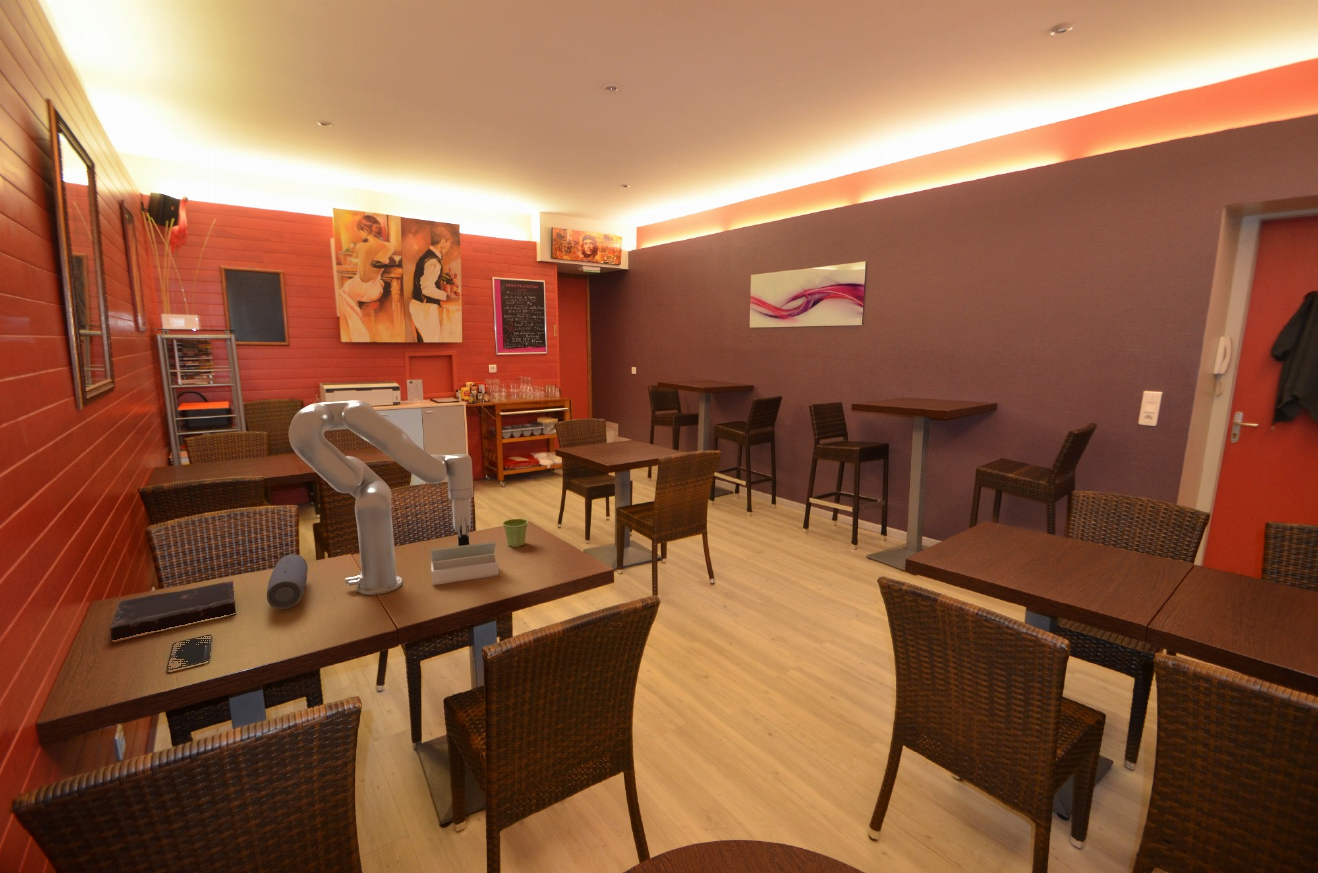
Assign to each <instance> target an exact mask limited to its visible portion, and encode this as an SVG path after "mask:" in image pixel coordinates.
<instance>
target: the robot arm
mask: <svg viewBox="0 0 1318 873" xmlns="http://www.w3.org/2000/svg"><path fill="white" fill-rule="evenodd" d="M336 430H337V431H339V430H349V431H351V432H352V433H353V434H355V435H357V436H358V437H360V438H361V439H363V440H364V441H366V442H368V443H369V444H370V445H372V446H374V447H375V448H377V449H378V450H380V451H381V452H383V453H384V454H385V455H386V456H387V457H389V458H390V459H391V460H393V461H395V462H396V463H397V464H398V465H399V466H401V467H402V468H403V469H405V470H406V471H408V472H409V473H411V474H412V475H413V476H415V477H417V478H418V479H420V480H422V481H423V482H424V483H427V484H430V485H438V484H440V483H442V482H443V481H444V480H445V479H446V477H447V492H448V493H447V494H448V500H450V501H451V508H452V509H451V510H452V511H451V513H452V526H453V529H454V531H455V532H457V534H458V536H457V541H458V543H457V544H458V545H457V546H463V545H470V536H469V530H470V529H471V518H472V517H471V516H472V515H471V499H472V498H474V484H473V483H474V481H473V480H474V478H473V463H472V457H471V455H469V454H467V453H454V454H449V455H448V454H437V453H435V454H430V453H429V452H427V451H425V450H424V449H422V448H421V447H420V446H419V445H418V444H416V442H414V440H412V439H411V437H410V436H409V435H408V433H407V432H406V431H404V430H403V429H402V428H401V427H399V426H397V425H396V424H395V423H393V422H391V421H390V420H389V419H387V418H386V417H384V416H383V415H381V414H380V412H377V411H376V410H375V409H374V407H373V406H372V404H370V403H369V402H367V401H366V400H347V401H333V402H316V403H312V404H309V405H306V406H305V407H303V408H301V409H299V411H297V412H296V413H295V415H294V416H293V418H292V420H291V422H290V425H289V429H288V433H287V434H288V442H289V443H290V444H289V445H290V446H291V449H293V451H294V453H295V454H296V455H297V456H298V457H299V458H300V459H301V460H302V461H303V462H305V464H307V466H309V467H310V468H311V469H312V471H314V472H315V473H317V475H318V476H319V477H320V478H322V480H323V481H325V482H326V483H328V485H329V486H330V487H331V488H332V489H334V490H335V491H336V492H338V493H341V494H349V495H351V496H352V497H353V498H355V502H354V515H355V520H356V527H357V528H356V529H357V538H358V547H359V548H358V549H359V550H358V551H359V559H360V574H357V575H356V576H353V577H352V576H350V577H349V576H347V577H345V578H344V579H345V585H348V586H349V587H350V586H356V592H357V593H358V594H361V595H365V594H366V596H375V595H383V594H386V593H387V594H388V593H390V592H393V591H395V590H397V589H398V588H400V587H401V586H402V584H403V578H402V577H400V576H398V575H397V568H396V567H397V566H396V556H395V555H396V554H395V541H394V540H395V539H394V529H393V528H394V527H393V516H392V495H393V494H392V490H391V488H390V486H389V485H388V484H387V483H386V481H385V480H384V479H382V478H381V477H380V476H379V475H378V474H376V472H375V471H374V470H373V469H371V468H370V466H368V465H367V464H366V463H365V462H364V461H363V460H361V459H360V458H359V457H358V458H357V457H355V456H352V455H351V456H350V455H345V454H344V453H343V452H342V451H340V450H339V449H338V448H337V446H335V445H334V444H333V443H331V441H329V440H328V439H327V438H326V436H325V432H326V431H336Z"/></svg>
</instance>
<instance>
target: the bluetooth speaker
mask: <svg viewBox="0 0 1318 873" xmlns="http://www.w3.org/2000/svg"><path fill="white" fill-rule="evenodd" d="M308 571H309V570H308V562H307V561H306V558H304V557H303V556H301V555H299V554H294V553H293V554H287V555H284V556H283V557H281V558H280V559H279V560H278V562H276V564H275V566H274V567H273V570H272V572H271V575H270V578H269V580H268V585H267V590H266V599H267V603H268V604H269V606H271V607H272V608H275V609H276V610H286V609H290V608H293V607H295V606H296V605H298V603H299V602H300V601H301V599H302V597H303V594H304V592H305V588H306V586H307V585H306V584H307V581H308Z"/></svg>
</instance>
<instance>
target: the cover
mask: <svg viewBox="0 0 1318 873" xmlns="http://www.w3.org/2000/svg"><path fill="white" fill-rule="evenodd" d="M496 544H497V543H496V541H488V542H480V543H474V544H473V543H472V544H469V545H463V546H458V545H456V546H449V547H441V548H440V547H439V548H431V549H430V554H431V562H438V561H446V560H453V559H461V558H468V557H476V556H483V555H491V554H495V552H496V551H495V550H496Z"/></svg>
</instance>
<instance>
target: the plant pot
mask: <svg viewBox="0 0 1318 873" xmlns="http://www.w3.org/2000/svg"><path fill="white" fill-rule="evenodd" d="M528 524H529V520H528V519H525V518H510V519H508V520H504V521H503V522H502V525H503V528H504V532H505V534H506V541H507V545H509V546H508V547H512V548H518V547H522V546H524V545H525V544H526V536H527V534H526V533H527V527H528Z"/></svg>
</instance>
